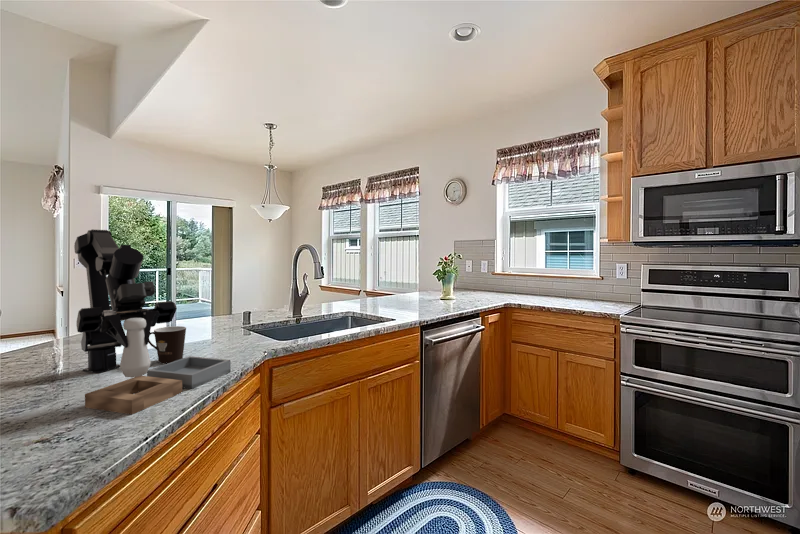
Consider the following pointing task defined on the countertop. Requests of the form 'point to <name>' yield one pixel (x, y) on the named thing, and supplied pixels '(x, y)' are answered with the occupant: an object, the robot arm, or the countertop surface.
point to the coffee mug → (169, 343)
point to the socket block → (133, 394)
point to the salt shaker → (135, 349)
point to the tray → (192, 370)
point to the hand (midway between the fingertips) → (137, 345)
